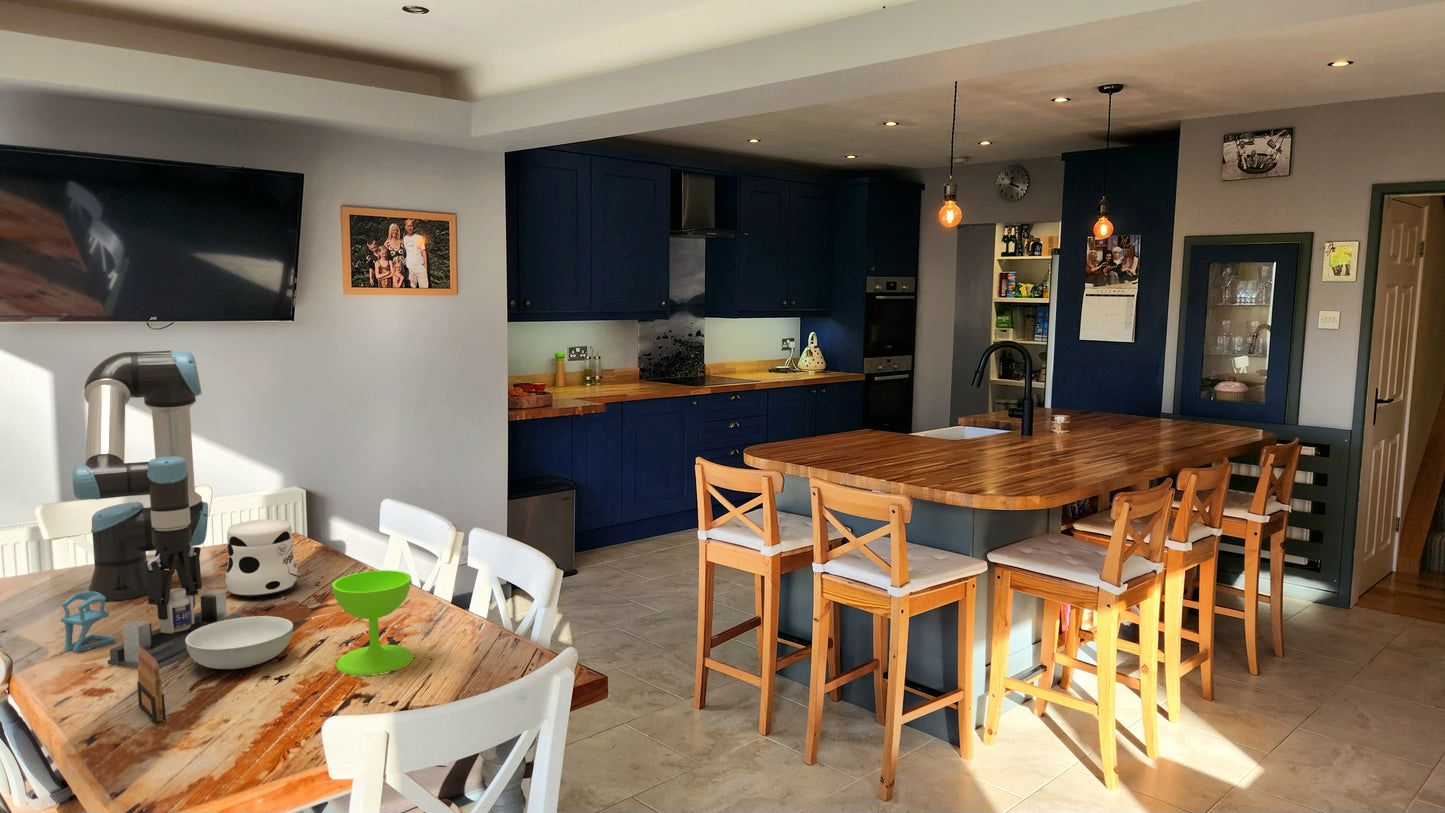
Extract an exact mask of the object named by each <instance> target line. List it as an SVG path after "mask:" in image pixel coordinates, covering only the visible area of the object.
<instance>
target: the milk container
mask: <svg viewBox="0 0 1445 813" xmlns="http://www.w3.org/2000/svg"><path fill="white" fill-rule="evenodd" d="M292 532H293V528H292V524H291V521H288V520H287V519H286V520H285V519H281V518H280V519H279V518H277V519H275V518H267V519H255V520H249V521H248V520H247V521H243V522H239V523H235V524H232V525H230V526H229V527H228V528H227V532H226V533H227V534H226V541H227V545H226V546H227V556H228V557H227V560H228V561H227V566H226V571H225V575H224V576H225V577H224V578H225V584H226V588H227V591H228V592H229V593H230V594H232V595H234V596H237V597H242V598H262V597H268V596H269V597H271V596H274V595H277V594H281V593H284V592H287V591H289V590H290V589H292V588H293V587H294V586H295V585H296V583H297V581H298V576H299V575H298V574H299V573H298V572H299V571H298V565H297V562H296V559H295V556H294V548H293V546H294V545H293V543H294V542H293V536H292V534H293V533H292Z"/></svg>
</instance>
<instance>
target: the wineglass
mask: <svg viewBox="0 0 1445 813" xmlns="http://www.w3.org/2000/svg"><path fill="white" fill-rule="evenodd" d="M411 577H412V576H411V575H410V574H408V573H406V572H404V571H398V570H389V569H388V570H387V569H385V570H383V569H380V570H367V571H362V572H361V571H360V572H356V573H355V572H354V573H352V574H348V575H344V576H342V577H340V578H337V579H336V580H334V582H332V584H331V588H332V593H333V597H334V599H335V600H336V603H337V605H339V607H341V608H342V610H343V611H345V612H346V613H347V614H348V615H351V616H353V617H355V618H358V619H365V620H368V628H369V629H368V630H369V631H368V632H369V645H368V646H364V647H363V646H362V647H359V648H356V649H353V650H351V651H348V652H346V653H345V654H343V655H342V656H341V657H340V658H339V659H338V660H337V662H336V664H335V669H336V668H337V669H338V670H339V671H341V672H343V673H347V674H352V675H372V674H380V673H385V672H389V671H392V670H396V669H399V668H401V667H404V666H405V665H407V664H408V663H410V662H411V661H412V659H413V655H414V653H413V652H412V651H411V650H410V649H409V648H407V647H404V646H402V645H398V644H380V632H379V631H380V627H379V626H380V625H379V618H383V617H386V616H388V615H390V614H392V613H393V612H395V611H396V610H397V609H398V608H400V606H402V604H403V603H404V601H405V600H406V598H407V597H408V594H409V592H410V589H411V582H412V578H411ZM413 660H414V659H413ZM412 662H413V661H412ZM412 662H411V663H412ZM411 663H410V664H411ZM404 668H405V667H404ZM337 669H336V670H337ZM338 670H337V671H338ZM339 671H338V672H339ZM341 672H340V673H341Z"/></svg>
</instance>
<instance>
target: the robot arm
mask: <svg viewBox="0 0 1445 813" xmlns="http://www.w3.org/2000/svg"><path fill="white" fill-rule="evenodd" d="M83 389H84V392H83V397H84V399H85V401H86V403H87V404H88V407H87V408H88V409H87V423H86V424H87V426H86V440H85V442H86V443H85V459H84V460H85V461H84V465H82V466H81V465H80V466H76V467H74V468H73V470H72V491H73V494H74V497H75V498H76V499H78V500H83V501H84V500H103V499H112V498H121V497H132V496H133V497H135V496H136V497H137V496H147V495H149V500H150V507H144V504H143V503H142V502H140V501H134V502H133V501H132V502H124V503H120V504H115V505H111V506H107V507H105V508H101V509H100V510H97V511H95V513H94V514H93V515H92V518H91V531H90V532H91V533H92V543H93V544H92V546H93V563H94V569H93V572H92V577H91V582H90V585H89V586H88V591H87V592H90V591H94V592H98V593H100V594H102V595H103V596H104V597H105V598H106V600H105V602H115V601H114V600H117V601H124V599H125V600H130V599H135V598H139V597H142V596H146V595H147V597H148V599H147V601H148V605H153V606H154V605H155V606H156V609H157V618H158V620H159V625H160V627H159V628H161V632H162V633H173V632H174V629H173V614H172V604H168V603H169V596H170V590H171V589H172V583H173V582H172V581H173V576H174V574H175V573H176V574H177V577H178V580H179V583H180V588H184V589H185V590H186V596H185V597H186V598H188V599H189V602H190V620H191V624H194V623H195V622H194V614H195V612H194V611H195V610H194V608H195V606H196V601H195V595H196V596H197V595H198V594H199V592H200V590H202V587H203V586H202V574H201V565H200V564H201V563H200V562H201V560H200V555H201V547H200V546H201V545H202V544H204V542H205V541H206V539H207V538H206V537H207V531H208V522H209V521H208V520H209V518H208V517H209V503H208V502H206V501H203V496H201V494H199V493H198V492H197V491H196V487H195V472H194V457H193V453H194V452H193V442H192V441H193V440H192V439H193V438H192V424H191V411H190V410H191V407H192V406H193V405H194V404H195V403H196V401H197V399H196V397H197V396H198V397H199V396H200V395H201V394H202V387H201V381H200V377H199V372H198V367H197V362H196V359H195V357H194V354H193V353H192V352H189V351H185V350H184V351H183V350H182V351H180V350H179V351H178V350H173V349H171V350H157V351H156V350H155V351H153V350H152V351H125V352H119V353H116V354H113V355H110V356H109V357H107V358H106V359H104V360H103V361H101V362H100V363H98V365H97V366H95V367H94V368H93V370H92V371H91V372H90V374H89V375H88V376H87V379H86V380H85V384H84V388H83ZM131 398H134V399H136V398H143V400H144V406H146V407H148V408H149V410H151V417H152V430H153V432H152V433H153V442H154V443H153V444H154V456H155V458H153V459H150V460H149V461H140V462H139V461H138V462H125V449H126V448H125V447H126V446H125V445H126V444H125V443H126V442H125V441H126V405H127V404H128V402H130V399H131ZM152 551H155V554H154V557H153V558H152V559H151V560H147V552H152ZM145 594H146V595H145Z"/></svg>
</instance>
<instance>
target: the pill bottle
mask: <svg viewBox="0 0 1445 813" xmlns="http://www.w3.org/2000/svg"><path fill="white" fill-rule="evenodd" d="M185 596H186V590H185V589H184V588H182V587H174V588H171V590H170V596H169V603H168V604H172V614H173V629H174V632H179V631H184V630H186V629H188V628H190V626H191V620H190V602H189V599H188V598H186V597H185Z"/></svg>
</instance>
